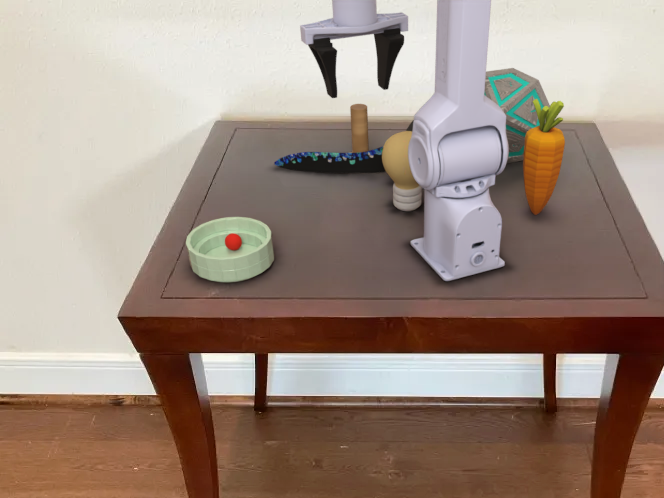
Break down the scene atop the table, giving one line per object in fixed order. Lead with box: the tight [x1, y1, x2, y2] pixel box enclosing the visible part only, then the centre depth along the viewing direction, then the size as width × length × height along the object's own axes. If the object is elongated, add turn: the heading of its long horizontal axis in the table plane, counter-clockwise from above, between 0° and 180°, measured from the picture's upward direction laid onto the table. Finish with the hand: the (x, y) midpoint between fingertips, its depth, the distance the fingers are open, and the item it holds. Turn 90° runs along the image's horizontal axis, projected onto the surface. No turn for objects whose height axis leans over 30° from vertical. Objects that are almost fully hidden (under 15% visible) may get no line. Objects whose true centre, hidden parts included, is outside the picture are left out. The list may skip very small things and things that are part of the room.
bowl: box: [185, 216, 275, 283], centre depth 85 cm, size 10×10×4 cm
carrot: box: [522, 99, 566, 216], centre depth 90 cm, size 5×5×15 cm
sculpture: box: [484, 67, 551, 165], centre depth 105 cm, size 13×14×30 cm
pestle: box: [349, 103, 370, 153], centre depth 105 cm, size 4×4×8 cm
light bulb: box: [382, 130, 423, 212], centre depth 93 cm, size 6×6×10 cm
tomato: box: [225, 233, 242, 250], centre depth 87 cm, size 2×2×2 cm
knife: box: [273, 145, 387, 174], centre depth 102 cm, size 31×3×4 cm, turn 75°
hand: (358, 91), depth 101 cm, fingers open, 7 cm apart
